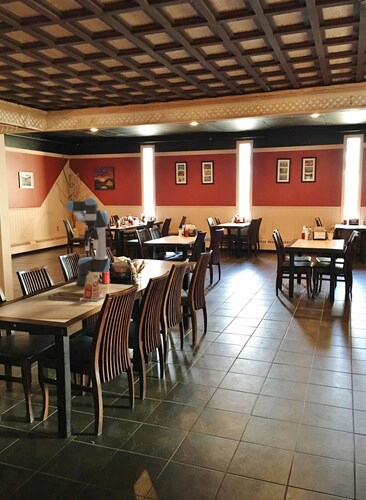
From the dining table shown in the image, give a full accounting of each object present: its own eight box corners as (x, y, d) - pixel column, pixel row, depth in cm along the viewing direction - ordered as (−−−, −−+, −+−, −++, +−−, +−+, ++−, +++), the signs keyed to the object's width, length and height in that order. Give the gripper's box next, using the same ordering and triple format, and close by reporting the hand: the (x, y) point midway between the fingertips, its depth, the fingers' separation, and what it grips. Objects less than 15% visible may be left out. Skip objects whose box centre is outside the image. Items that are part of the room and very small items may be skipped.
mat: (88, 297, 315) (88, 296, 315) (103, 298, 313) (103, 297, 313) (81, 300, 304) (81, 300, 304) (96, 301, 301) (96, 301, 301)
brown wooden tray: (58, 295, 322) (58, 291, 322) (88, 296, 317) (88, 293, 317) (48, 299, 307) (48, 296, 307) (79, 301, 302) (79, 297, 302)
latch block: (96, 293, 327) (96, 285, 327) (101, 294, 327) (101, 285, 326) (91, 296, 318) (91, 287, 317) (96, 297, 317) (96, 287, 316)
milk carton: (83, 299, 306) (82, 272, 304) (91, 296, 314) (90, 270, 312) (93, 300, 302) (92, 273, 300) (101, 298, 310) (100, 271, 308)
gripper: (93, 219, 315) (93, 247, 317) (78, 220, 290) (78, 251, 293) (102, 219, 313) (103, 247, 315) (88, 220, 289) (88, 251, 291)
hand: (91, 249), depth 304 cm, fingers open, 13 cm apart
